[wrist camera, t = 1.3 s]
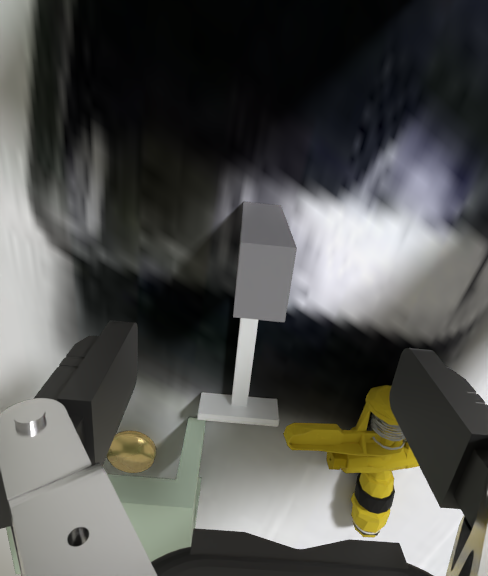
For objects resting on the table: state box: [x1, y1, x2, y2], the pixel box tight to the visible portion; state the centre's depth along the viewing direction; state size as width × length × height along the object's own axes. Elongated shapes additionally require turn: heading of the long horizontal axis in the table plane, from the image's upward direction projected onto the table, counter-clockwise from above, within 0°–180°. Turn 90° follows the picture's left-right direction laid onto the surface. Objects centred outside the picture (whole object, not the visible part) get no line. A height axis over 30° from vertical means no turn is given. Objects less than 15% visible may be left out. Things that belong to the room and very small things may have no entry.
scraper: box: [197, 202, 297, 427], centre depth 24 cm, size 6×16×9 cm, turn 174°
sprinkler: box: [283, 385, 419, 537], centre depth 32 cm, size 19×4×15 cm
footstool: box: [6, 417, 206, 574], centre depth 30 cm, size 12×8×8 cm, turn 84°
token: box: [107, 431, 156, 473], centre depth 33 cm, size 4×4×1 cm
